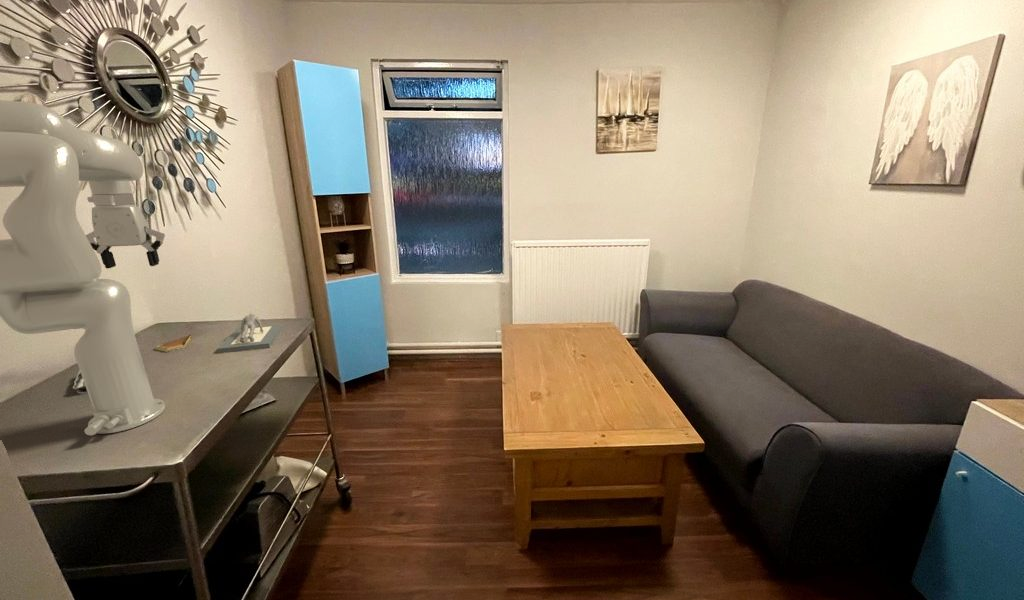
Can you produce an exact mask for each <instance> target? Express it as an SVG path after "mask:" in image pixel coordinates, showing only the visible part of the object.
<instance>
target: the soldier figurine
mask: <svg viewBox="0 0 1024 600" xmlns="http://www.w3.org/2000/svg"><path fill="white" fill-rule="evenodd" d="M255 323H257V326H259V327H260V332H261V333H262V332H263V329H262V326H263V325H262V322H261V321H260V318H259V317H258V316H256V315H255V314H254V313H250V314H248V315H246V316H245V317H243V318H242V320H241V324H240V328H241V338H240V342H241V343H242V342H243V343H244V342H245V340H244V337H245V335H246V333H247V332H248V328H249V329H250V332H249V336H248V339H250V341H252V342H253V341H254V338H253V334H254V330H255V327H256V324H255Z"/></svg>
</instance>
